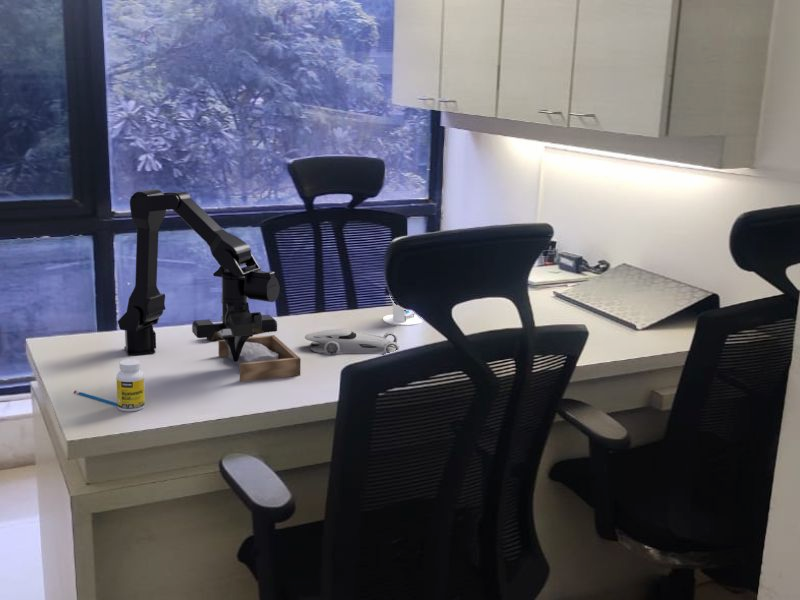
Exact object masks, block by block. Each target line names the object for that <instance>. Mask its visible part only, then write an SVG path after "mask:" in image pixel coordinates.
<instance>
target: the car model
mask: <svg viewBox="0 0 800 600" xmlns="http://www.w3.org/2000/svg"><path fill="white" fill-rule="evenodd" d="M388 336H392V337H393V341H392V340H390V339H388V338H387V337H388ZM304 339H305V340H307V341H309V342H310V341H311V343H310V344H311V345H312V346H311V347H309V348H310V350H311V351H313V352H314V353H319V354H324V355H344V354H374V355H375V354H380V355H387V354H386V353H390V352H394V351H396V350H400V346H399V343H397V342H398V336H397V334H396V333H395V332H393V331H388V332H386V333H384V334H383V336H381V335H376V334H369V333H360V332H354V331H351V330H350V329H347V328H332V329H324V330H319V331H314V332H310V333H307V334H305V335H304Z"/></svg>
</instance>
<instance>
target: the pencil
mask: <svg viewBox="0 0 800 600" xmlns="http://www.w3.org/2000/svg"><path fill="white" fill-rule="evenodd" d="M73 394H76V395H79V396H82V397H86V398H88V399H92V400H95V401H99V402H100V403H101V402H102V403H105V404H108V405H110V406H114V407H117V402H116V401H115V402H114V401H111V400H108V399H105V398H101V397H98V396H95V395H92V394H89V393H85V392H81V391H78V390H74V391H73Z"/></svg>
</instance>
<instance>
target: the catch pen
mask: <svg viewBox="0 0 800 600" xmlns="http://www.w3.org/2000/svg"><path fill="white" fill-rule="evenodd" d="M217 342H218V357H219V358H225V357H229V349H228V346H227V344H226V342H225V340H224V339H218V340H217ZM245 342H250V343H251V342H253V343H259V344H262V345H264V346H265V347H267V348H268V349H269V350H271V351H273V352H276V353H277V354H278V355H279V356H278V359H277V360H267V361H258V362H248V363H239V365H238V367H239V381H240V383H241V382H250V381H259V380H269V379H278V378H286V377H293V376H296V377H297V376H301V361H302V360H301V357H300V356H298V355H297V354H296V353H295V352H294V351H293V350H292V349H291V348H290V347H288V346H287V345H286V344H285V343H284V342H283V341H281V340H280V338H278V336H276V335H273V334H272V335H262V336H261V335H260V336H252V337H249V338H248V339H247V340H246V341H245Z"/></svg>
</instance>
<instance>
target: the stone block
mask: <svg viewBox="0 0 800 600" xmlns="http://www.w3.org/2000/svg"><path fill="white" fill-rule="evenodd" d="M278 356H279V355H278V354H277V353H276V352H273V351H271V350H269V349H268V348H267V347H265V346H264V345H262V344H259V343H253V342H251V343H250V342H245V343H244V345H243V348H242V351H241V353H240V356H239V359H238V362H234V361H233V359H232V357H231V354H230V351H229V356H228V359H229V360H230V361H232V362H233V363H235V364H236V365H238V366H239V363H248V362H258V361H267V360H277V359H278Z"/></svg>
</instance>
